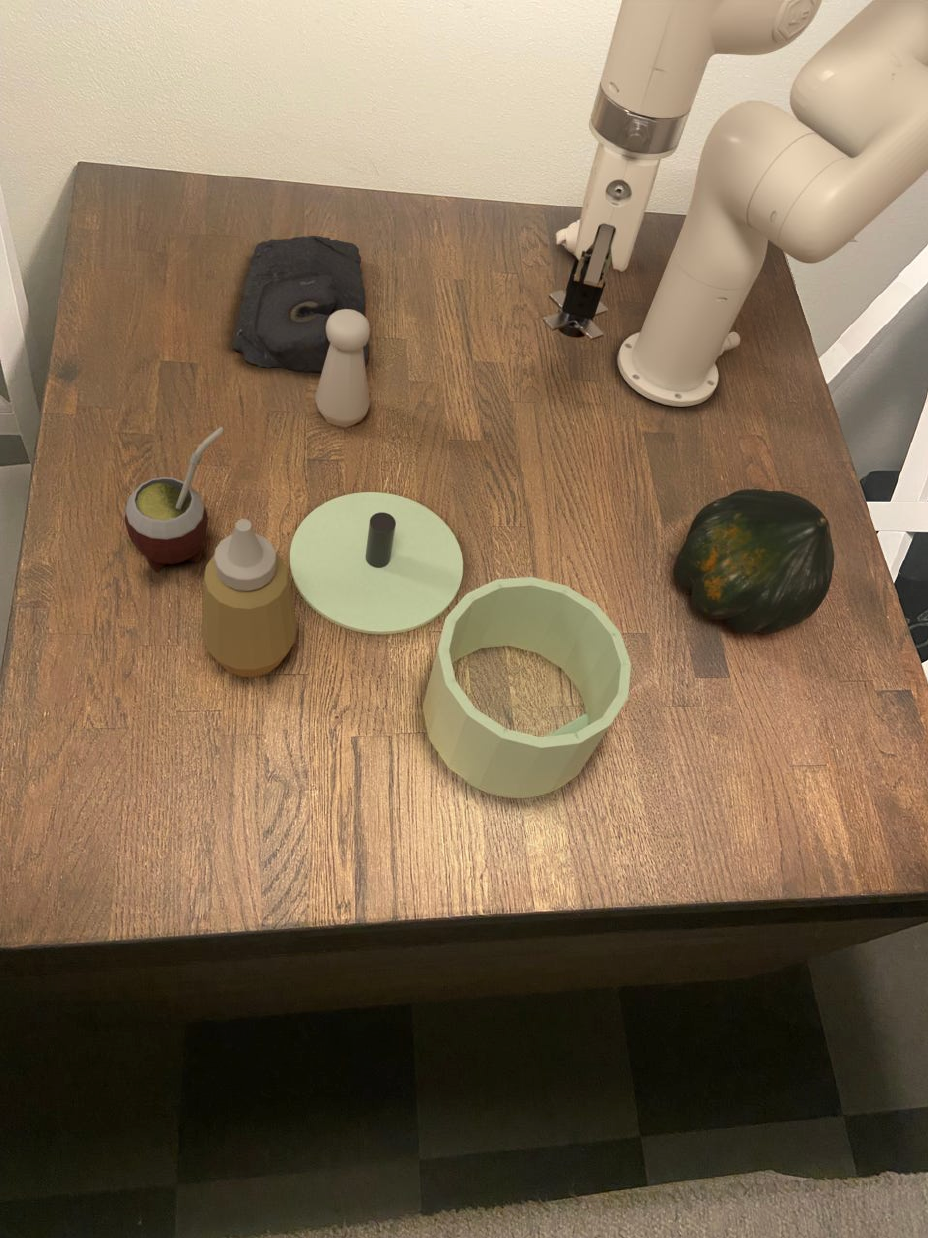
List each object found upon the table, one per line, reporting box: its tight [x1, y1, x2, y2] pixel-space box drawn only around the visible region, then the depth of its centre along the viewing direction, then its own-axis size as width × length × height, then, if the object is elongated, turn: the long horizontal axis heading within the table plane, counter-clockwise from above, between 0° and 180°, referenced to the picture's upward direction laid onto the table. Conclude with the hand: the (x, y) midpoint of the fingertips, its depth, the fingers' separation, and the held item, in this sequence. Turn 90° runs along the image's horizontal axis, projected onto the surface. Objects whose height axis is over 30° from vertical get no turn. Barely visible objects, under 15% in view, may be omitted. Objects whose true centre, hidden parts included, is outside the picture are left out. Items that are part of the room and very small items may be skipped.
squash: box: [672, 488, 835, 635], centre depth 90 cm, size 14×15×15 cm
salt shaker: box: [314, 309, 371, 429], centre depth 94 cm, size 6×6×13 cm
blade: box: [542, 260, 609, 342], centre depth 88 cm, size 7×7×8 cm
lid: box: [289, 491, 464, 636], centre depth 87 cm, size 17×17×7 cm
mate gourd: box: [124, 425, 225, 574], centre depth 80 cm, size 8×8×15 cm
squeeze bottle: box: [200, 518, 298, 678], centre depth 75 cm, size 8×8×18 cm
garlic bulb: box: [555, 219, 580, 257], centre depth 120 cm, size 6×6×5 cm
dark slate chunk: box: [231, 235, 370, 374], centre depth 106 cm, size 15×22×5 cm
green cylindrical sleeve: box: [422, 576, 632, 799], centre depth 78 cm, size 16×16×10 cm
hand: (579, 303), depth 89 cm, fingers closed on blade
